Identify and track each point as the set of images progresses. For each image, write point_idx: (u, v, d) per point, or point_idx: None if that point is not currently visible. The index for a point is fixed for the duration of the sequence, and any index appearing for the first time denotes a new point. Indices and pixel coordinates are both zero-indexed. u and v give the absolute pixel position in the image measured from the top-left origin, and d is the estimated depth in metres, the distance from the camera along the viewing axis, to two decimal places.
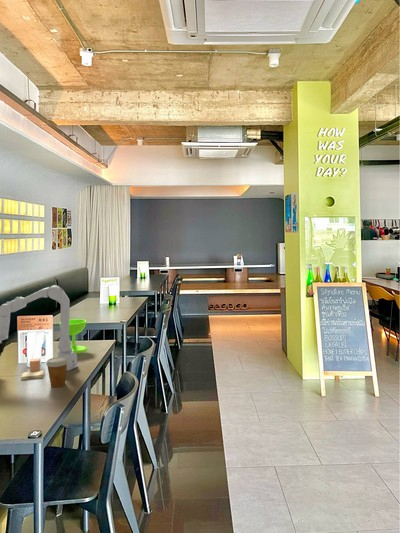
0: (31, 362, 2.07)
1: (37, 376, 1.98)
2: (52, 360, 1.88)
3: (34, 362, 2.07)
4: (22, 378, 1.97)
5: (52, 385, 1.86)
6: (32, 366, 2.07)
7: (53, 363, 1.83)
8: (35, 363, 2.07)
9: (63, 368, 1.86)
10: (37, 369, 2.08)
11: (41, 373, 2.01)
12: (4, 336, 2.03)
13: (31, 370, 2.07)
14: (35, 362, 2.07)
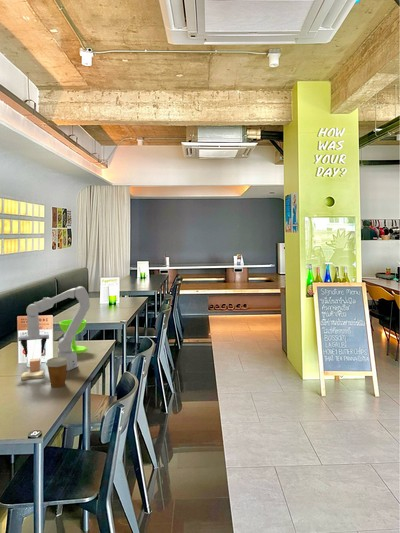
0: (31, 362, 2.07)
1: (37, 376, 1.98)
2: (52, 360, 1.88)
3: (34, 362, 2.07)
4: (22, 378, 1.97)
5: (52, 385, 1.86)
6: (32, 366, 2.07)
7: (53, 363, 1.83)
8: (35, 363, 2.07)
9: (63, 368, 1.86)
10: (37, 369, 2.08)
11: (41, 373, 2.01)
12: None
13: (31, 370, 2.07)
14: (35, 362, 2.07)
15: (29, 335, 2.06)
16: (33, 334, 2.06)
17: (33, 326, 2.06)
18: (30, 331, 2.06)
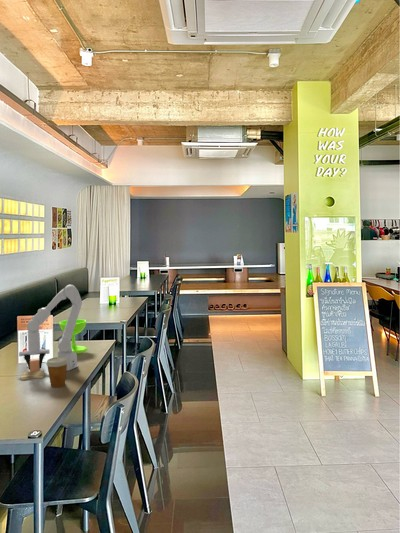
0: (31, 362, 2.07)
1: (37, 376, 1.98)
2: (52, 360, 1.88)
3: (34, 362, 2.07)
4: (22, 378, 1.97)
5: (52, 385, 1.86)
6: (32, 366, 2.07)
7: (53, 363, 1.83)
8: (35, 363, 2.07)
9: (63, 368, 1.86)
10: (37, 369, 2.08)
11: (41, 373, 2.01)
12: None
13: (31, 370, 2.07)
14: (35, 362, 2.07)
15: (30, 350, 2.06)
16: (34, 349, 2.06)
17: (34, 341, 2.06)
18: (31, 346, 2.06)
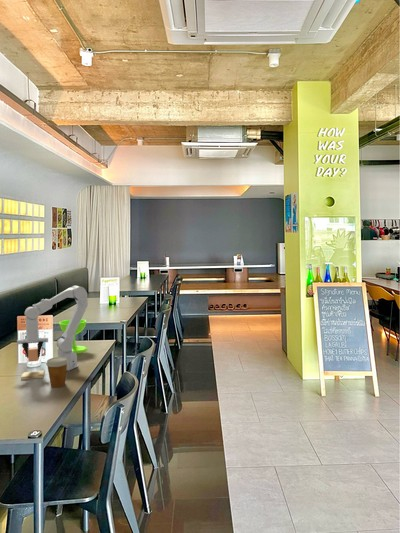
0: (29, 350, 2.03)
1: (37, 376, 1.98)
2: (52, 360, 1.88)
3: (32, 350, 2.04)
4: (22, 378, 1.97)
5: (52, 385, 1.86)
6: (30, 355, 2.03)
7: (53, 363, 1.83)
8: (34, 352, 2.04)
9: (63, 368, 1.86)
10: (35, 358, 2.04)
11: (41, 373, 2.01)
12: None
13: (29, 359, 2.03)
14: (34, 351, 2.04)
15: (28, 338, 2.03)
16: (32, 337, 2.02)
17: (33, 329, 2.03)
18: (29, 334, 2.02)
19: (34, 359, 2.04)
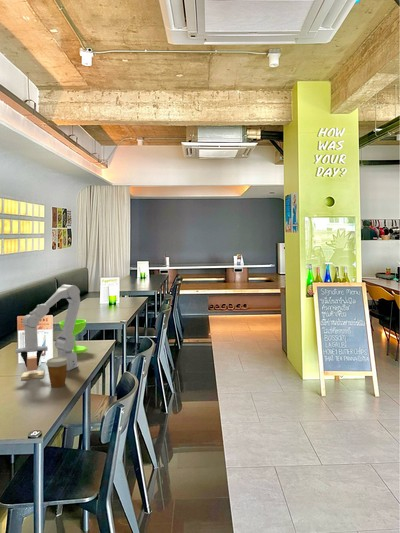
0: (28, 359, 1.98)
1: (37, 376, 1.98)
2: (52, 360, 1.88)
3: (31, 359, 1.99)
4: (22, 378, 1.97)
5: (52, 385, 1.86)
6: (29, 364, 1.99)
7: (53, 363, 1.83)
8: (33, 361, 1.99)
9: (63, 368, 1.86)
10: (34, 367, 1.99)
11: (41, 373, 2.01)
12: None
13: (28, 368, 1.99)
14: (33, 360, 1.99)
15: (27, 347, 1.98)
16: (31, 346, 1.98)
17: (34, 337, 1.98)
18: (28, 343, 1.97)
19: (33, 368, 1.99)
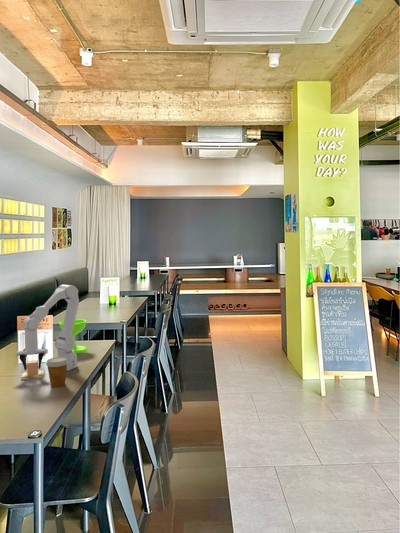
0: (28, 364, 1.98)
1: (37, 376, 1.98)
2: (52, 360, 1.88)
3: (31, 364, 1.99)
4: (22, 378, 1.97)
5: (52, 385, 1.86)
6: (29, 368, 1.99)
7: (53, 363, 1.83)
8: (33, 365, 1.99)
9: (63, 368, 1.86)
10: (35, 371, 1.99)
11: (41, 373, 2.01)
12: None
13: (28, 372, 1.99)
14: (33, 364, 1.99)
15: (27, 350, 1.98)
16: (31, 349, 1.98)
17: (34, 340, 1.98)
18: (28, 346, 1.97)
19: (33, 372, 1.99)
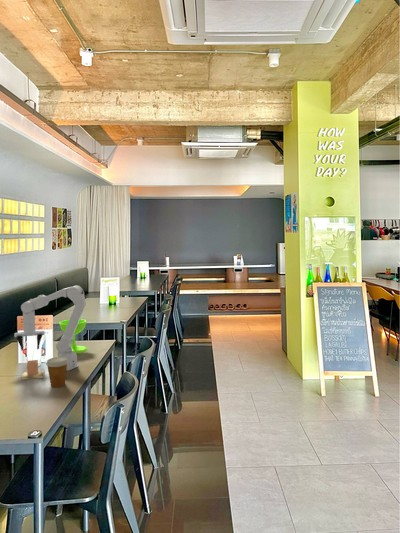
0: (28, 364, 1.98)
1: (37, 376, 1.98)
2: (52, 360, 1.88)
3: (31, 364, 1.99)
4: (22, 378, 1.97)
5: (52, 385, 1.86)
6: (29, 368, 1.99)
7: (53, 363, 1.83)
8: (33, 365, 1.99)
9: (63, 368, 1.86)
10: (35, 371, 1.99)
11: (41, 373, 2.01)
12: None
13: (28, 372, 1.99)
14: (33, 364, 1.99)
15: (25, 331, 2.10)
16: (29, 330, 2.10)
17: (27, 323, 2.09)
18: (26, 327, 2.09)
19: (33, 372, 1.99)
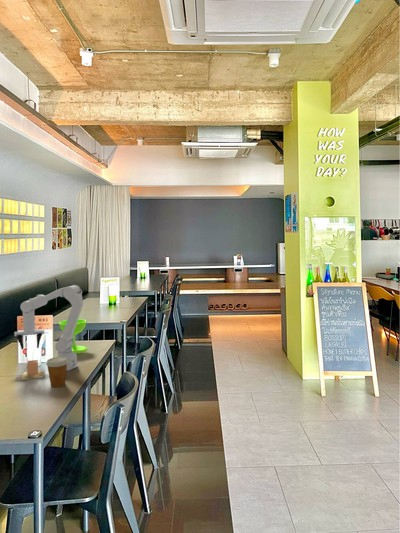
0: (28, 364, 1.98)
1: (37, 376, 1.98)
2: (52, 360, 1.88)
3: (31, 364, 1.99)
4: (22, 378, 1.97)
5: (52, 385, 1.86)
6: (29, 368, 1.99)
7: (53, 363, 1.84)
8: (33, 365, 1.99)
9: (63, 368, 1.86)
10: (35, 371, 1.99)
11: (41, 373, 2.01)
12: None
13: (28, 372, 1.99)
14: (33, 364, 1.99)
15: (25, 330, 2.12)
16: (29, 329, 2.12)
17: (26, 322, 2.12)
18: (26, 326, 2.12)
19: (33, 372, 1.99)
